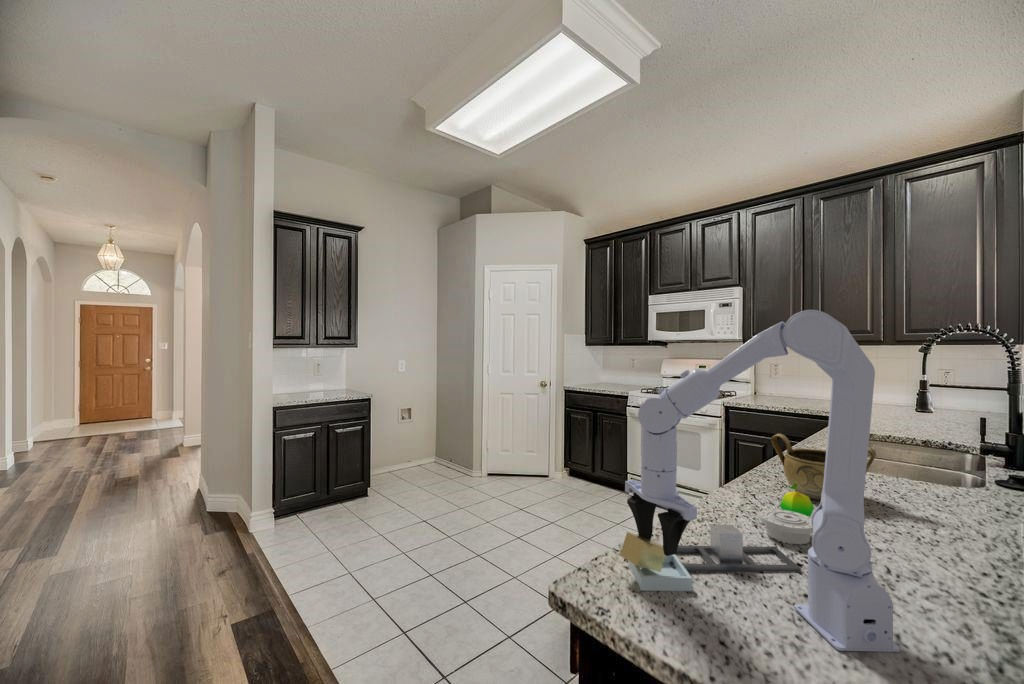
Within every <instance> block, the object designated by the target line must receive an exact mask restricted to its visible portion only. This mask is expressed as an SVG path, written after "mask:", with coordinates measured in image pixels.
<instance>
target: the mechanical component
mask: <svg viewBox="0 0 1024 684" xmlns="http://www.w3.org/2000/svg"><path fill="white" fill-rule="evenodd" d="M811 518H812V517H811V516H810V517H808V516H806V515H803V514H800V513H796V512H792V511H787V510H782V509H778V508H777V509H776V508H774V509H765V510H762V511H760V512H759V520H760V522H761V523H763V524H764V525H765V526H766V535H768V536H769V538H770V539H775V540H777V542H779V543H780V542H782V543H783V544H786V543H787V544H788V545H798V544H799V545H798V546H801V545H807V543H808V544H809V543H810V541H811V534H813V528H812V524H811Z"/></svg>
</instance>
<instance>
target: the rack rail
mask: <svg viewBox="0 0 1024 684" xmlns="http://www.w3.org/2000/svg"><path fill="white" fill-rule="evenodd" d="M661 545H662V546H663V544H661ZM676 554H699V555H698V556H699V557H700V558H701V559H702V561H703V562H704V561H705V562H706V563H705V562H704V563H688V562H687V563H683V562H681V563H682V565H683V566H684V567H685V569H686V570H687V572H688V573H702V572H701V571H705V573H735V572H736V573H737V572H738V573H745V572H747V573H749V572H750V573H751V572H752V573H758V572H760V573H764V571H801V572H802V568H801V567H800V566H799V565H798V564H797V563H795V562H794V561H793V560H792V559H791V558H789V557H788V556H787V555H786V554H784V553H783V552H782V551H780V550H779V549H778V548H777V547H776V546H747V545H746V546H743V562H744V564H717V563H716V561H715V560H714V559H713V558H712V557H711V556H710V545H680V544H679V545H678V548H677V552H676ZM747 554H773V555H774V556H775V555H776V556H775V557H777V559H779V560H780V559H781V560H782V562H783V563H784V564H757V563H756V562H755V561H754V560H753V559H752V558H751V557H749V555H747ZM781 560H780V561H781ZM785 563H786V564H787V565H786V564H785ZM670 565H671V566H672V568H676V566H675V564H674V563H673V562H670ZM697 571H698V572H697ZM706 571H707V572H706ZM709 571H710V572H709Z"/></svg>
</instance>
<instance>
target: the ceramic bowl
mask: <svg viewBox="0 0 1024 684" xmlns="http://www.w3.org/2000/svg"><path fill="white" fill-rule="evenodd" d="M777 438H779V439H781V440H782V442H783V443H784V445H785V447H786V452H785V455H784V451H782V449H781V447H780V445H779V443H778V439H777ZM771 443H772V447H773V449H774V451H775V452H776V454H777V456H778V458H779V460H780V462H781V464H782V467H783V471H784V474H785V477H786V480H787V482H788V483H789V485H791V486H790V487H792V486H794V482H795V481H796V482H797V492H799V493H801V494H804V495H806V496H808V497H809V498H810V500H815V501H819V500H820V502H821V494H822V489H823V481H824V470H825V458H826V449H818V448H817V449H816V448H815V449H814V448H793V447H792V444H791V441H790V439H789V438H788V437H787V436H786V435H785V434H782V433H776V434H774V435H773V436H771ZM868 454H869V455H870V458H869V459H868V460H867V467H866V474H867V472H868V470H869V468H870V467H871V465H872V464H873V462H874V460H875V458H876V456H877V453H876V451H875V449H873V448H872V447H870V446H868Z"/></svg>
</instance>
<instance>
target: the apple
mask: <svg viewBox="0 0 1024 684" xmlns="http://www.w3.org/2000/svg"><path fill="white" fill-rule="evenodd" d="M787 488H788V489H790V490H795V491H790V492H789V491H788V492H787V493H785V494H784V495H783V497H782V498H781V502H780V503H779V506H780V510H787V511H792V512H796V513H800V514H803V515H806V516H808V517H810V518H811V517H812V515H813V513H814V511H815V507H814V505H813V503H812V501H811V500H812V499H811V498H809V497H808V496H806V495H804V494H801V493H799V492H798V491H797V482H796V481H795V482H794V486H789V487H787Z"/></svg>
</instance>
